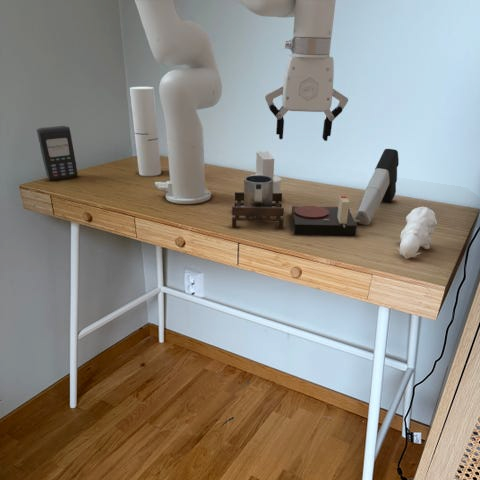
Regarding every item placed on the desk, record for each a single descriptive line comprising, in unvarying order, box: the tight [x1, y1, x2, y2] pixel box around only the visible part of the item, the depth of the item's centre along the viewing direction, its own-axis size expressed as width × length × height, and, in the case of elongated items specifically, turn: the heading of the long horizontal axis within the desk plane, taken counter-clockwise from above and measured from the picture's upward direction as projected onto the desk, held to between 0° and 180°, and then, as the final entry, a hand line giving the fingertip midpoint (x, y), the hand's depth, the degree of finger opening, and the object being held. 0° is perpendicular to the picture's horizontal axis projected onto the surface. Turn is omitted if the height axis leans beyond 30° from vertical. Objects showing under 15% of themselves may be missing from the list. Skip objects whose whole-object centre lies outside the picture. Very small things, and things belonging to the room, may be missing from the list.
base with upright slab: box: [250, 150, 282, 203], centre depth 124 cm, size 9×9×12 cm
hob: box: [290, 205, 360, 237], centre depth 110 cm, size 15×14×3 cm
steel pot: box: [243, 174, 273, 207], centre depth 111 cm, size 7×9×7 cm
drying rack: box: [231, 191, 285, 230], centre depth 113 cm, size 12×12×5 cm
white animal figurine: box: [397, 206, 438, 260], centre depth 96 cm, size 6×8×12 cm
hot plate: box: [294, 205, 329, 218], centre depth 112 cm, size 8×8×1 cm
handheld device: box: [355, 148, 400, 226], centre depth 118 cm, size 4×22×15 cm
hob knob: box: [337, 195, 350, 224], centre depth 106 cm, size 4×2×5 cm, turn 177°
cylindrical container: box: [129, 86, 162, 177], centre depth 144 cm, size 7×7×25 cm
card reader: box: [36, 125, 78, 181], centre depth 141 cm, size 9×4×15 cm, turn 123°
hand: (302, 138), depth 101 cm, fingers open, 9 cm apart
